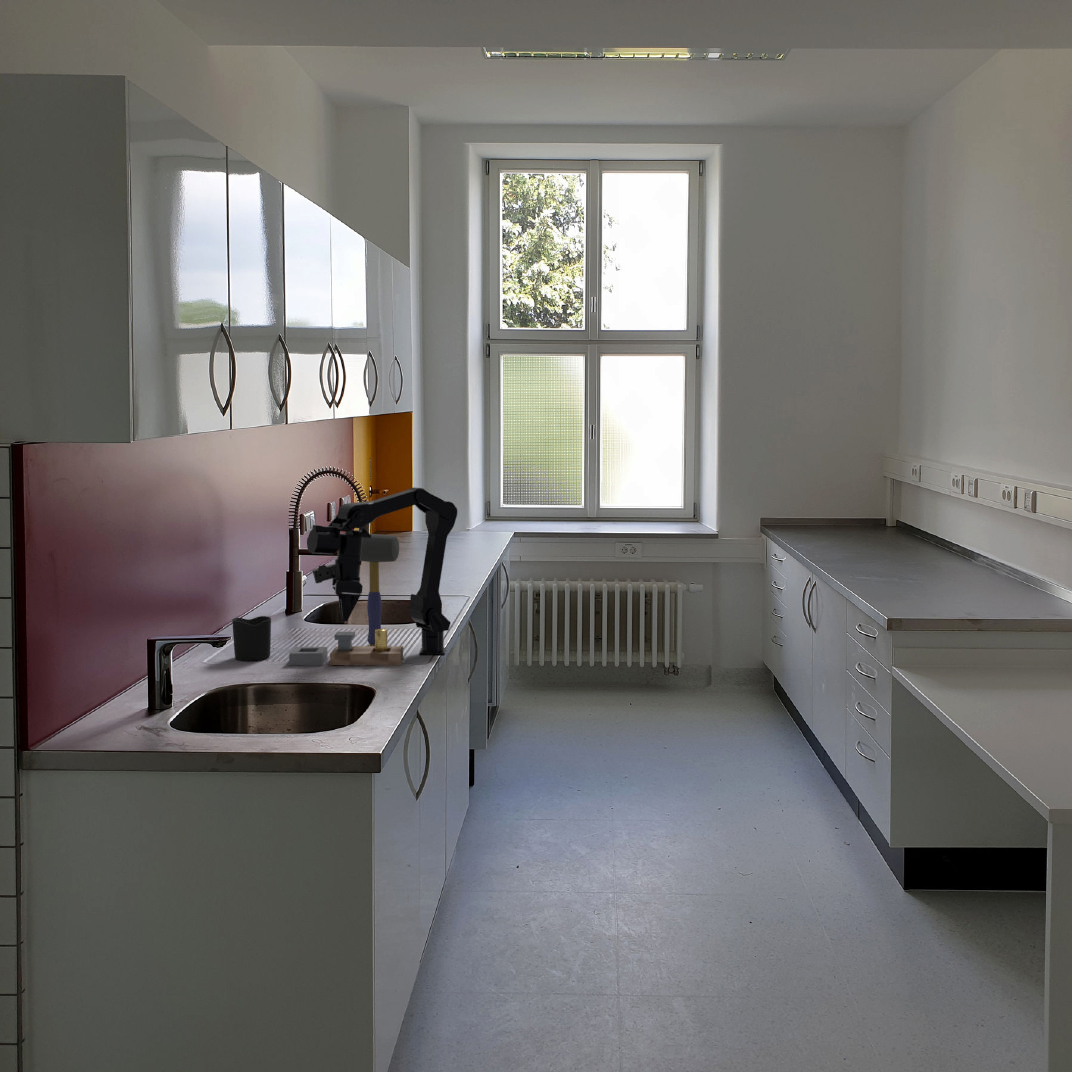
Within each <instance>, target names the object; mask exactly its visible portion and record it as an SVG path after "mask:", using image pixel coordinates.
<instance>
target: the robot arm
mask: <svg viewBox="0 0 1072 1072" xmlns="http://www.w3.org/2000/svg"><path fill="white" fill-rule="evenodd" d="M413 506H415V507H416V508H417V509H418V510H419V511H421V512H422V513H424V514H425V515H424V516H425V517H424V519H425V526H426V530H427V532H428V534H427V535H428V536H427V543H426V549H425V555H424V561H423V569H422V573H421V581H420V587H419V589H418V591H417V592H416V593H415V594H414V593H411V594H410V598H409V600H410V603H409V606H408V607H407V610H409V615H410V617H411V619H412V620H413V621H414V623H415V625H416V628H420V629H421V647H420V650H419V652H418V654H419V655H445V654H446V651H447V648H446V647H445V645H444V644H445V643H444V642H445V640H444V638H445V633H444V632H446V631H449V629H450V627H451V621H450V620H449V619H448V618H447V617H446V616H445V615H444V614H443V611H442V610H443V603H442V602H443V601H442V598H441V595H440V594H441V593H440V585H441V579H442V572H443V566H444V559H445V552H446V546H447V539H448V536H449V535H450V533H451V531H452V530H453V528H455V527H454V526H455V523H456V520H457V518H458V508H457V506H456V505H455V504H454V503H453V502H451V501H449V500H443V499H442V498H440V497H438V496H436V495H434V494H432V493H430V492H428V490H426V489H425V488H422V487H410V488H409V489H406V490H403V491H399V492H397V493H393V494H390V495H387V496H384V497H381V498H377V499H375V500H371V501H370V500H369V501H357V502H348V503H344V504H342V505H341V506H340V507H339V509H338V511H337V515H336V516H335V517H334V518H333V519H332V521H331V522H329V525H328V526H325V525H320V524H313V525H312V526H311V527H312V528H311V530H310V531H309V533H308V536H307V538H306V547H307V548H306V549H307V550H308V553H310V554H319V555H322V554H323V555H335V554H336V553H337V557H336V558H335V561H334V563H333V564H329V565H328V564H327V565H326V564H322V565H318V567H317V568H314V569H312V571H311V572H312V574H313V578H314V582H315V584H320V583H322V582H325V581H328V580H329V581H330V580H331V579H332V580H331V581H332V582H331V585H332V589H333V590H334V593H335V595H336V596H337V598H338V604H339V613H340V614H339V615H340V617H341V618H342V621H343V622H348V621H349V619H350V617H351V615H352V612H353V611H354V608H355V607H356V605H357V603H358V602H359V600H360V597H361V595H362V594H363V585H362V583H361V577H360V574H361V573H360V572H361V566H362V562H363V561H361V553H362V541H363V538H371V535H370V534H371V533H369V531H368V530H367V528H366V527H365V526H368V525H369V524H371V523H373V522H374V521H375V520H376V519H377V518H379V517H382V516H385V515H388V514H390V513H394V512H397V511H400V510H403V509H406V508H409V507H413ZM356 529H358V530H356ZM341 532H344V533H341Z"/></svg>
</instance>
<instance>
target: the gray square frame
mask: <svg viewBox="0 0 1072 1072" xmlns="http://www.w3.org/2000/svg"><path fill="white" fill-rule="evenodd" d="M328 651H329V650H328V646H295V647H294V648H293V649H292V650H291V651H290V652H289V653H288V660H289V661H288V662H289V663H288V664H289V665H303V666H323V665H324V664H325V663H326V661H328V659H329V658H328V655H329V654H328ZM324 662H325V663H324ZM323 663H324V664H323Z"/></svg>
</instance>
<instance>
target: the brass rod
mask: <svg viewBox="0 0 1072 1072" xmlns="http://www.w3.org/2000/svg"><path fill="white" fill-rule="evenodd" d="M387 646H388V629H386V628H381V629H377V630H375V652H387Z"/></svg>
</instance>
